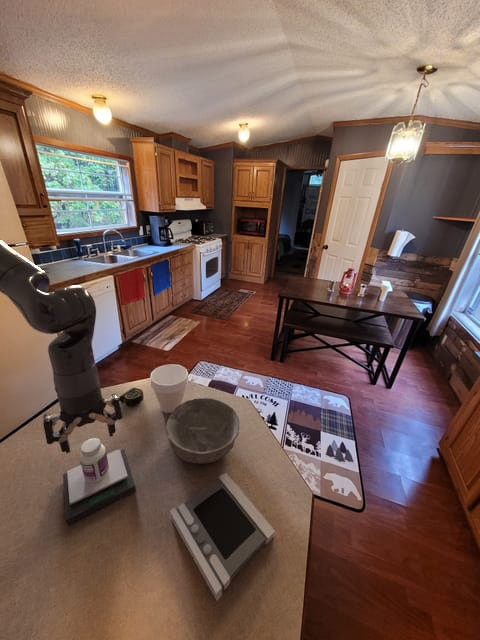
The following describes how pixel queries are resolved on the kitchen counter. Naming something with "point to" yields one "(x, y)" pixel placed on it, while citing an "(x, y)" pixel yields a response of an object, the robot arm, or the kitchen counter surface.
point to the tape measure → (132, 397)
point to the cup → (169, 385)
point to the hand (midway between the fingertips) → (90, 441)
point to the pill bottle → (94, 460)
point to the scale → (96, 488)
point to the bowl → (202, 430)
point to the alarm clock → (221, 531)
